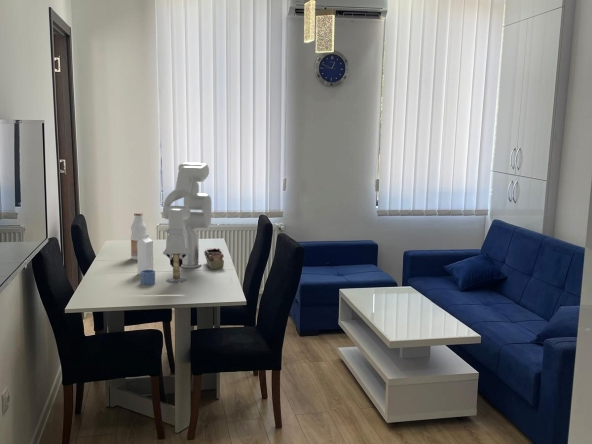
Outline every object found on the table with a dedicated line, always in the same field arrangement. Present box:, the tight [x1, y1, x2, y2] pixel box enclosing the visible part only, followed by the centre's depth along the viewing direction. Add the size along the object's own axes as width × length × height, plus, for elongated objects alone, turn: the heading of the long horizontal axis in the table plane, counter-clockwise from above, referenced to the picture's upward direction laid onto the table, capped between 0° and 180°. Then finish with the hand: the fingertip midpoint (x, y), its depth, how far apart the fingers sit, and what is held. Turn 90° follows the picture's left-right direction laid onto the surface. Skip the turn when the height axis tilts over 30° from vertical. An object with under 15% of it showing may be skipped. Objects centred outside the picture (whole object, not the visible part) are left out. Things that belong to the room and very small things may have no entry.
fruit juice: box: [130, 212, 148, 261], centre depth 372 cm, size 9×9×28 cm
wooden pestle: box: [172, 254, 181, 280], centre depth 323 cm, size 4×4×18 cm
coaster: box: [165, 277, 188, 284], centre depth 325 cm, size 11×11×1 cm
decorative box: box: [203, 247, 225, 270], centre depth 361 cm, size 13×20×10 cm, turn 12°
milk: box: [137, 234, 154, 275], centre depth 336 cm, size 6×6×22 cm
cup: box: [140, 269, 156, 286], centre depth 318 cm, size 7×7×7 cm
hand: (176, 265), depth 323 cm, fingers closed on wooden pestle, 3 cm apart
